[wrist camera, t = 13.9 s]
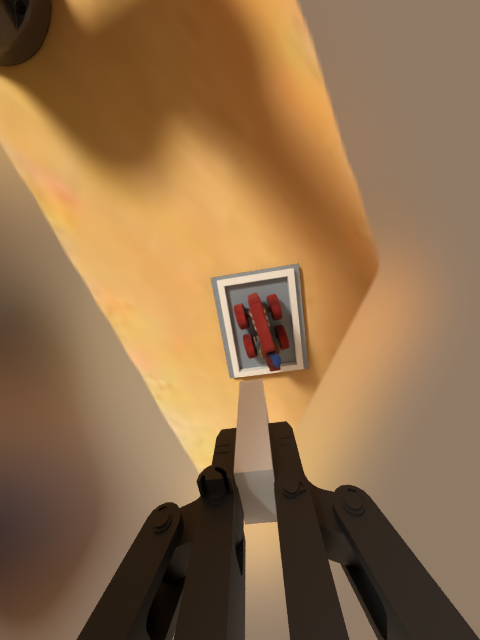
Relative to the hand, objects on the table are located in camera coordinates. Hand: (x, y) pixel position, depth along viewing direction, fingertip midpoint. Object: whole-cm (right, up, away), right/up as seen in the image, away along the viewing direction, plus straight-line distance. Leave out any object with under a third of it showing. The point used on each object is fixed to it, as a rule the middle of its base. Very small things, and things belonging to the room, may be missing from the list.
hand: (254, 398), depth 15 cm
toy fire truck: (+3, +5, +23) cm, 23 cm away
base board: (+3, +5, +24) cm, 24 cm away
